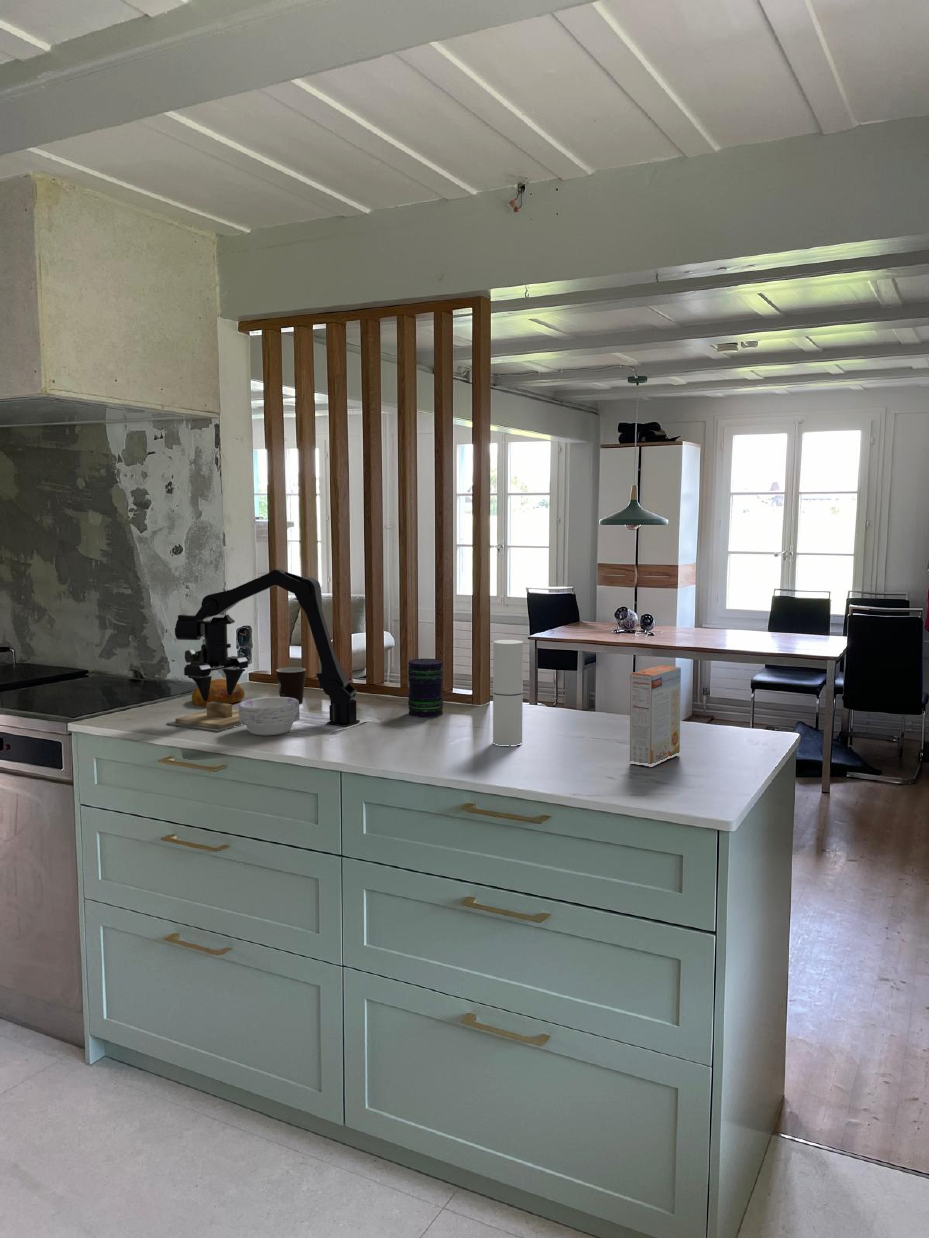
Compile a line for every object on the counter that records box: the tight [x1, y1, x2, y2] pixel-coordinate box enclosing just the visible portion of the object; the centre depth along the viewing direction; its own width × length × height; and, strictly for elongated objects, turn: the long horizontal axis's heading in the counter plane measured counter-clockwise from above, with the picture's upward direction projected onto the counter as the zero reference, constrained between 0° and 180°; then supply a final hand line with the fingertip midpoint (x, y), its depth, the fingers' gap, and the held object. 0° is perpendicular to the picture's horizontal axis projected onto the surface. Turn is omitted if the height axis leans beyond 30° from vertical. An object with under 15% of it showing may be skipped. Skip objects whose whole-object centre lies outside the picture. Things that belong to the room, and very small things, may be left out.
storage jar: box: [407, 658, 444, 719], centre depth 259 cm, size 10×10×15 cm
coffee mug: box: [275, 667, 307, 706], centre depth 275 cm, size 12×9×10 cm
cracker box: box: [629, 664, 682, 764], centre depth 210 cm, size 14×6×21 cm, turn 141°
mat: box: [165, 720, 241, 733], centre depth 250 cm, size 18×20×1 cm
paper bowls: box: [238, 696, 301, 736], centre depth 237 cm, size 15×15×8 cm
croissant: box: [191, 678, 245, 708], centre depth 276 cm, size 14×16×8 cm
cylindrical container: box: [492, 639, 524, 746], centre depth 225 cm, size 7×7×25 cm
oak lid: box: [175, 702, 240, 729], centre depth 250 cm, size 16×16×4 cm
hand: (217, 697), depth 249 cm, fingers open, 9 cm apart
